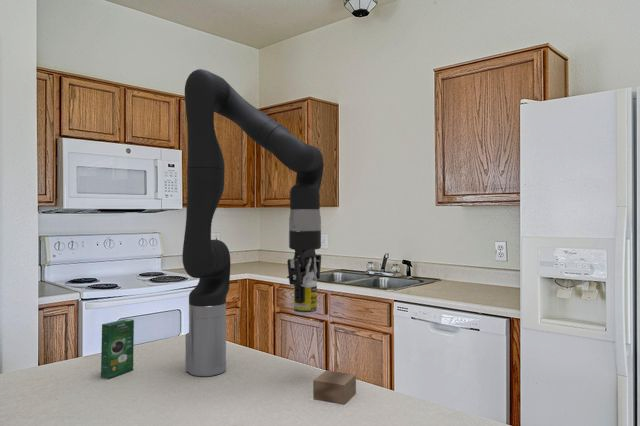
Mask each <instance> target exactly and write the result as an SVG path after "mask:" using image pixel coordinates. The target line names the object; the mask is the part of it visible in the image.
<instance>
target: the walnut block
mask: <svg viewBox="0 0 640 426" xmlns="http://www.w3.org/2000/svg"><path fill="white" fill-rule="evenodd" d="M312 382H313V383H312V385H313V386H312V388H313V390H312V392H313V393H312V397H313V399H315V400H321V401H326V402H332V403H338V404H343V405H344V404H345V403H346V402H347V401H348V400H349V399H350V398H351V397H352V396H353V395H354V394H355V393H356V392H357V374H354V373H348V372H347V373H346V372H341V371H340V372H339V371H333V370H328V369H327V370H325V371H323V373H321V374H320V375H318V376H317V377H316V378H314V379H313V381H312Z"/></svg>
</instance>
